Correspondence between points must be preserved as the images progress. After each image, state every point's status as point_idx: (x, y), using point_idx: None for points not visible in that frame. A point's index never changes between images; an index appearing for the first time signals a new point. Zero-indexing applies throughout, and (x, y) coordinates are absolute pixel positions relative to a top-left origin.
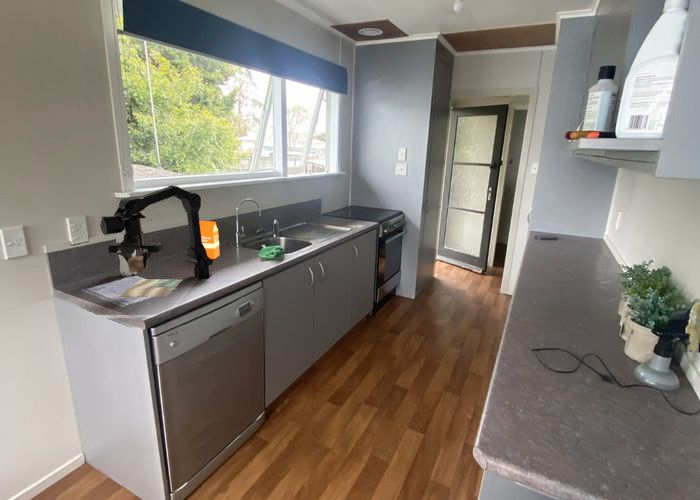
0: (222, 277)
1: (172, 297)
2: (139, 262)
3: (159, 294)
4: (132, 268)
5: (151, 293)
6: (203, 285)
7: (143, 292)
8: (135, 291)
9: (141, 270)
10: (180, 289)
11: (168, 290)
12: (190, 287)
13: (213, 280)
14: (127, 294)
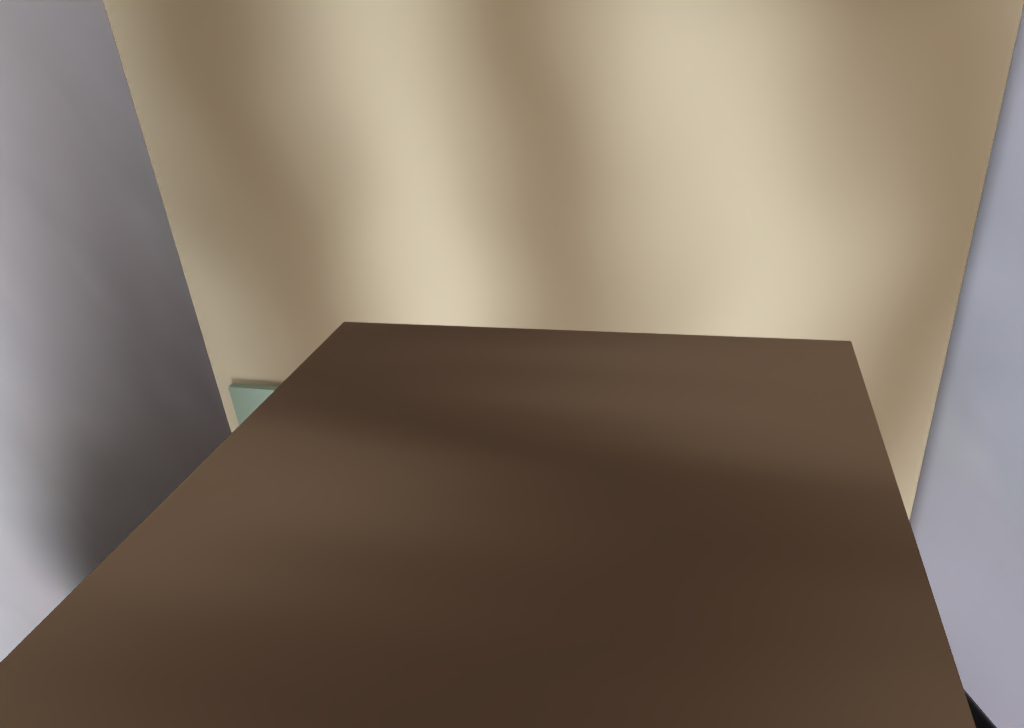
0: (3, 652)
1: (81, 42)
2: (166, 604)
3: (253, 68)
4: (690, 415)
5: (412, 116)
6: (17, 468)
7: (576, 161)
8: (754, 214)
9: (351, 350)
10: (177, 361)
11: (228, 257)
12: (107, 420)
13: (25, 592)
14: (865, 40)
